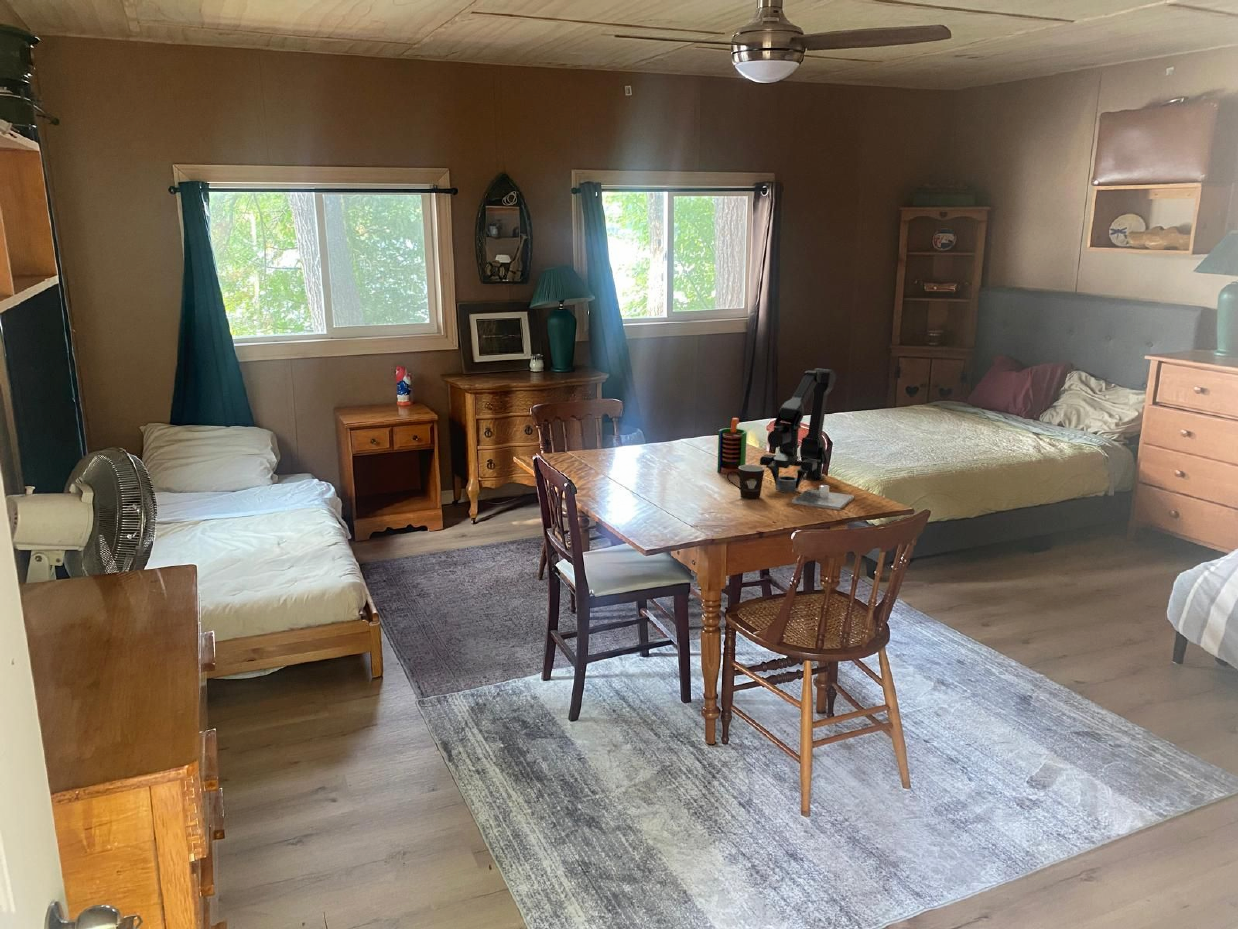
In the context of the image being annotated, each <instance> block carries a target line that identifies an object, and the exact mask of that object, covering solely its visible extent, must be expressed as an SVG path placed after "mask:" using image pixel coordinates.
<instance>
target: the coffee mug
mask: <svg viewBox="0 0 1238 929" xmlns="http://www.w3.org/2000/svg"><path fill="white" fill-rule="evenodd" d="M765 469H766V468H765V467H763V465H757V464H745V465H742V466H739V473H738V472H736V471H730V472H729V473H728V474H727V475H726V479H727V480H728V482H729V483H730V484H731V485H732V486H734V487H736V488H737V489H739V491H740V498H741V499H744V500H759V499H760V498H761V493H762V487H763V479H764V475H765V474H764V473H765ZM730 473H736V474H737V475H736V476H737V477H738V480H739V486H738V485H737V484H736V483H734V482H733V481H732V480H731V479H730V477H729V476H730V475H729V474H730Z"/></svg>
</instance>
